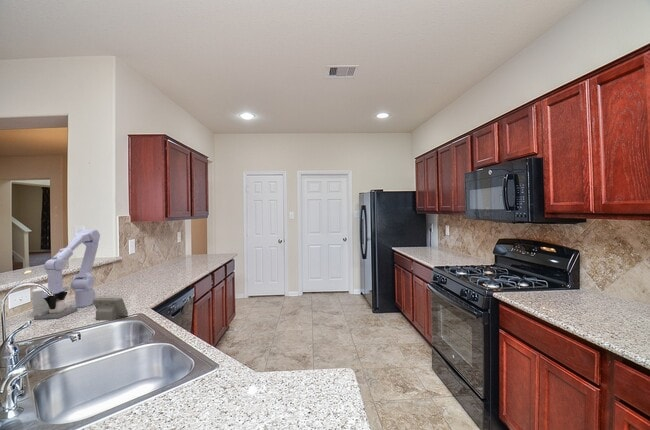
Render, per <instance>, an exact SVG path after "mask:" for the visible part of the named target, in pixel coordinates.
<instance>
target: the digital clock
mask: <svg viewBox="0 0 650 430" xmlns="http://www.w3.org/2000/svg"><path fill="white" fill-rule="evenodd" d="M93 305H94V307H95V309H96V311H95V320H96V321H114V320H116V319H118V317H119V318H120V317H121V318H123V317H127V316H128V315H129V312H128V309H127V306H126V304H125V301H124V299H123V297H118V296H117V297H116V296H109V297H108V296H95V298H93ZM115 318H116V319H115ZM113 319H114V320H113Z"/></svg>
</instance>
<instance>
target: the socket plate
mask: <svg viewBox="0 0 650 430" xmlns="http://www.w3.org/2000/svg"><path fill="white" fill-rule="evenodd" d="M77 311H78V307H72V306H70V307H65V310H64V311H61V312H59V313H49V310H48V311H46V312H43V313H40V314H38V315H35V316H33V320H34V321H38V320H39V321H40V320H58V319H59V320H60V319H61V318H65V317H66V316H68V315H72V314H73V313H75V312H77Z"/></svg>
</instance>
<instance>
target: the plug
mask: <svg viewBox="0 0 650 430" xmlns="http://www.w3.org/2000/svg"><path fill="white" fill-rule="evenodd" d="M65 308H66V307H65V299H64V300H59V299H56V307H55V309H50V308H49V313H59V312H61V311H64V310H65Z"/></svg>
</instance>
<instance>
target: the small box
mask: <svg viewBox="0 0 650 430" xmlns="http://www.w3.org/2000/svg"><path fill="white" fill-rule="evenodd" d="M40 288H41V287H40ZM40 288H33V290H32V291H31V294H32V295H31V297H32V316H33V317H34V316H35V315H38V314H40V313H43V312H46V311H48V310H49V305H48V303H47V302H46V301H45V300H44V299H43V298H42V297H41V294H43V293H46V292H44V291H43V290H42V289H40ZM47 288H48V286H47Z"/></svg>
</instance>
